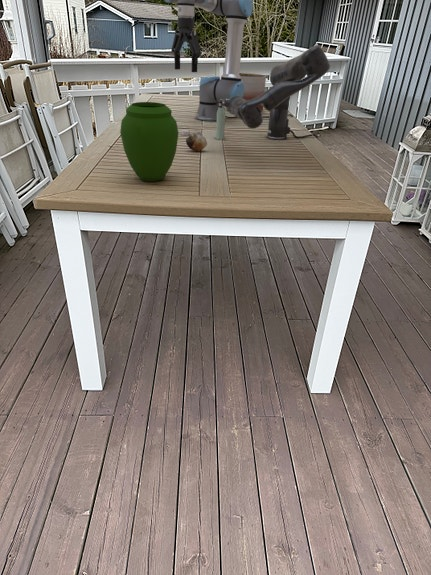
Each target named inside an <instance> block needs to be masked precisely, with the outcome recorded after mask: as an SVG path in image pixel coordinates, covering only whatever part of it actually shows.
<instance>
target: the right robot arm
mask: <svg viewBox="0 0 431 575" xmlns="http://www.w3.org/2000/svg"><path fill="white" fill-rule="evenodd" d="M330 69H331V63H330V60H329V59H328V57H327V55H326V53H325V51H324V49H323V48H322V46H321V45H314V46H311V47H309V48H307V49H306V50H305V51H304V52H303V53H300V55H297V56H294V57H292V58H290V59H289V60H287V61H286V62H284V63H282V64H278V65H274V66H272V68H271V70H270V74H269V82H270V84H271V85H272V86H271V87H269V88H268V89H267V90H265V92H264V93H263V94H261V95H260V96H258V97H256V98H253V99H250V100H248V101H247V100H245V99H243V98H241V97H239V96H234V97H232V98H231V99H224V100H222V99H220V98H219V99H217V100H216V106H218V107H219V108H222V106H223V107H224V109H227V108H228V109H227V110H228V112H229V113H230V114H231V115H233V117H239V119H240V120H241V121H242V122H243V124H244V125H245V126H246V128H249V129H252V130H254V129H258V128H260V126H262V124H263V121H264V118H263V116H264V115H263V114H262V111H261V112H260V110H259V108H258V105H259V104H261V105H262V106H263V110H265V111H267V112H269V115H268V116H269V118H268V126H267V130H266V133H267V135H266V137H267V139H271V140H287V137H288V135H289V134H290V133H291V134H292V136H293V137H294V138H295V139H304V138H309V137H315V138H316V139H319V136H318V135H317V134H315V133H314V134H307V135H301V136H300V135H298V136H297V135H296V134H295V133H294V131H293V130H291V127H290V126H289V121H290V119H289V118H288V114H289V110H290V101H291V97H292V96H294V95H296V94H297V93H298V92H300V91H302V90H304V89H305V88H307V87H309V86H310V85H312V84H313V83H314V82H316V81H317V80H319V79H321V78H322V77H324V75H326V74H327V73H328V72H329V71H330ZM226 101H227V102H226ZM312 135H313V136H312Z"/></svg>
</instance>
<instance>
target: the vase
mask: <svg viewBox="0 0 431 575" xmlns="http://www.w3.org/2000/svg"><path fill="white" fill-rule="evenodd" d="M125 113H126V114H125V115H124V117H122V119H121V122H120V123H121V124H120V130H119V133H120V138H121V142H122V147H123V150H124V154H125V155H126V158H127V160H128V163H129V165H130V167H131V168H132V170H133V172H134V173H135V175H136V176H137V177H138V178H139V179H141V180H143V181H145V182H159V181H161V180H163V179H164V178H165V176H166V175H167V174H168V173H169V170H170V169H171V167H172V165H173V162H174V159H175V157H176V156H175V155H176V153H177V147H178V140H179V129H178V122H177V120H176V119H175V117H174V116H173V115H172V109H171V108H170V107H169V106H167V105H166V104H164V103H162V102H155V101H138V102H132V103H131V104H130V105H128V107H127V108H125Z"/></svg>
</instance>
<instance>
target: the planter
mask: <svg viewBox="0 0 431 575" xmlns="http://www.w3.org/2000/svg"><path fill="white" fill-rule="evenodd" d="M239 75H240V77H241V82H243V83H244V94H243V97H242V98H243V99H245V100H247V101H248V100H250V99H253V98H256V97H258V96H260V95H261V94H263V93H264V92H266V83H267V76H266V75H264V74H261V73H250V72H249V73H248V72H239ZM258 108H259V110H260V112H261V113H262V111H264V107H263V106H262V105H261V104H259V105H258ZM226 110H228V108H226Z"/></svg>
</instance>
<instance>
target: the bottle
mask: <svg viewBox="0 0 431 575" xmlns="http://www.w3.org/2000/svg"><path fill="white" fill-rule="evenodd" d="M225 116H226V108H224V107H223V106H222V108H219V109H218V111H217V121H216V124H215V139H216V140H225V129H226V117H225Z"/></svg>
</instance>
